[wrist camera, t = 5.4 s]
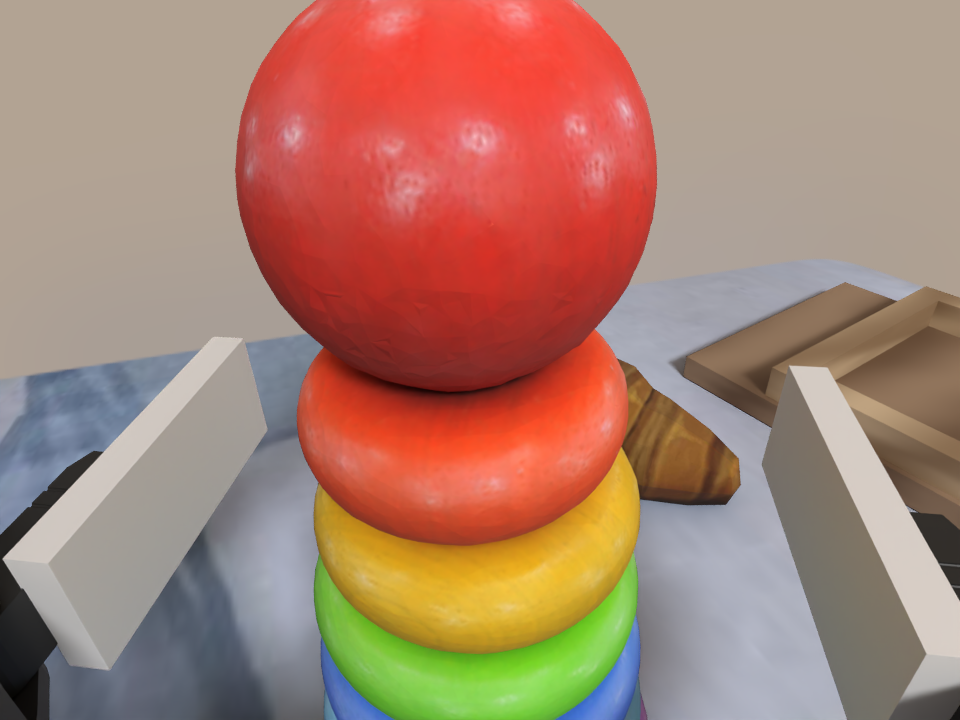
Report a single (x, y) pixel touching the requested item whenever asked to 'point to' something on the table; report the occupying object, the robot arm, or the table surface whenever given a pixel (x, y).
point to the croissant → (674, 450)
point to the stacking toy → (459, 346)
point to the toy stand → (862, 378)
